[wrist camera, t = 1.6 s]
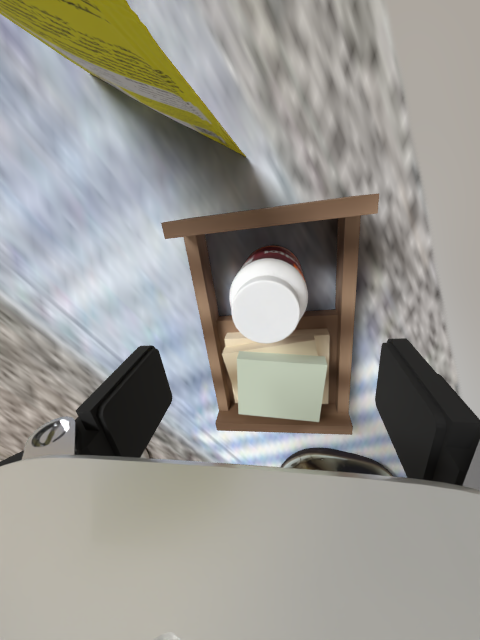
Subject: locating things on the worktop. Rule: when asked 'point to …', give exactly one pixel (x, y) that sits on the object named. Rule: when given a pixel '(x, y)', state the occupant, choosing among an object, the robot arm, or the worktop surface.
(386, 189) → the worktop surface
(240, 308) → the pill bottle
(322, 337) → the birch offcut
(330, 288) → the worktop surface
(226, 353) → the ash offcut
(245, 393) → the sage painted offcut
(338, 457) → the salad plate
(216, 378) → the walnut rack
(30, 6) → the food package
